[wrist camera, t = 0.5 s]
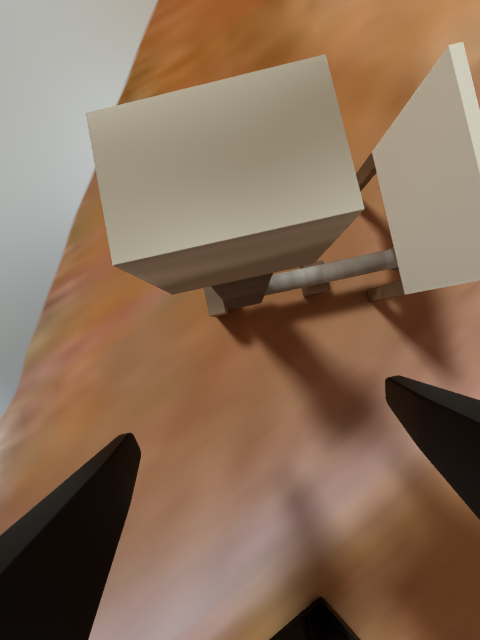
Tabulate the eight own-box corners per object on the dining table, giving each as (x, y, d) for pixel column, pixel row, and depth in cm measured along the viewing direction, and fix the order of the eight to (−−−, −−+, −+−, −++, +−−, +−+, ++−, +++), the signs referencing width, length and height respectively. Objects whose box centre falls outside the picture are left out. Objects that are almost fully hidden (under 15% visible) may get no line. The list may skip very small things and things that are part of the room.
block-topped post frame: (399, 278, 18) (975, 72, 4) (218, 317, 18) (112, 265, 4) (390, 242, 18) (902, -88, 4) (211, 280, 18) (85, 112, 4)
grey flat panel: (415, 292, 15) (521, 272, 9) (404, 294, 15) (504, 275, 9) (381, 149, 16) (465, 41, 10) (372, 152, 16) (448, 45, 10)
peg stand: (376, 299, 20) (413, 292, 15) (219, 332, 20) (211, 335, 16) (351, 188, 20) (380, 150, 16) (197, 223, 21) (183, 195, 16)
